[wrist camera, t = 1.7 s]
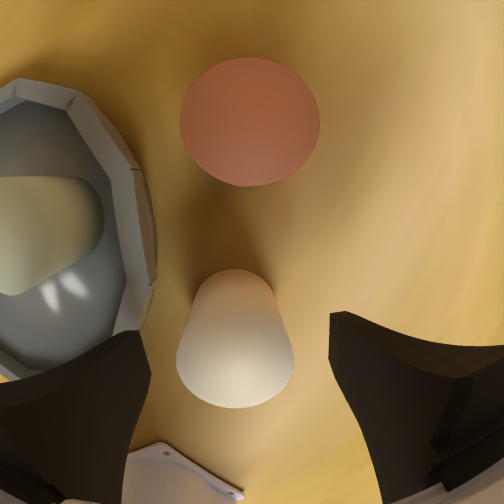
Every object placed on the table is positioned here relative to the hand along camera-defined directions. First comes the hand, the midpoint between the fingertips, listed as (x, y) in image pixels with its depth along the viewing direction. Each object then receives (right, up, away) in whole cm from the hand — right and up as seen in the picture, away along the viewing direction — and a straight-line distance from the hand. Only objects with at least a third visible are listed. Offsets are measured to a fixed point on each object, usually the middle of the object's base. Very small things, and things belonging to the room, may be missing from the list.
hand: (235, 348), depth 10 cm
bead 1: (0, +8, +2) cm, 9 cm away
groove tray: (-13, +4, +2) cm, 13 cm away
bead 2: (0, +1, +4) cm, 4 cm away
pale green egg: (-8, +5, +1) cm, 10 cm away
